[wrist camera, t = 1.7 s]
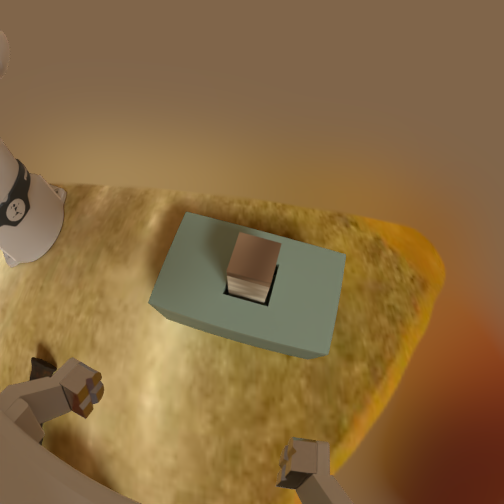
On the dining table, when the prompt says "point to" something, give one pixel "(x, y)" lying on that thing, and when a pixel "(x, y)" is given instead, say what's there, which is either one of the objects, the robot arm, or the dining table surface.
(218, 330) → the box with square hole
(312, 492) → the robot arm
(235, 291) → the wooden block
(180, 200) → the dining table surface
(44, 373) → the hand tool
